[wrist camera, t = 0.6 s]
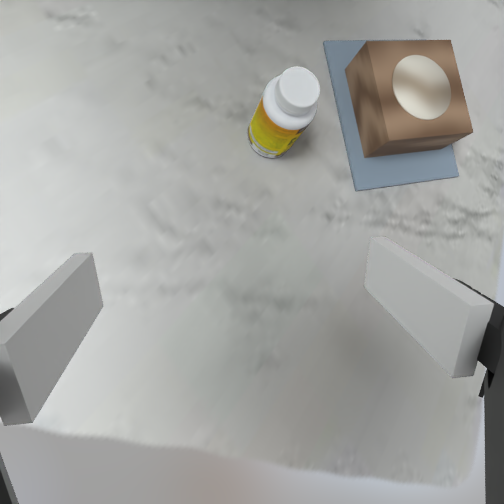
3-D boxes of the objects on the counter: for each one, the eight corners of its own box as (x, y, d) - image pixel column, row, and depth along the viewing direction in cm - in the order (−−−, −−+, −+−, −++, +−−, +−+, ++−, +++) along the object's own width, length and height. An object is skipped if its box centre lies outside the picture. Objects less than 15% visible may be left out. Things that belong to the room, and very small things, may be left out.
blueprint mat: (323, 43, 42) (324, 40, 42) (424, 41, 46) (426, 39, 46) (355, 191, 41) (357, 190, 40) (456, 176, 45) (459, 175, 44)
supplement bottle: (279, 167, 39) (315, 126, 29) (238, 145, 38) (260, 95, 28) (297, 129, 40) (337, 77, 30) (257, 107, 39) (285, 45, 29)
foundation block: (344, 69, 42) (367, 39, 37) (421, 66, 45) (451, 38, 40) (364, 158, 41) (390, 139, 36) (440, 149, 44) (474, 131, 39)
